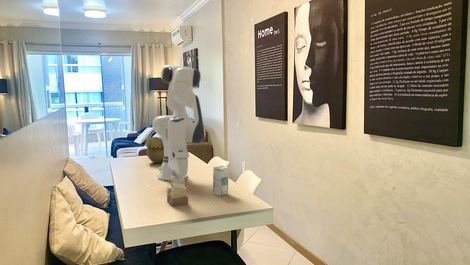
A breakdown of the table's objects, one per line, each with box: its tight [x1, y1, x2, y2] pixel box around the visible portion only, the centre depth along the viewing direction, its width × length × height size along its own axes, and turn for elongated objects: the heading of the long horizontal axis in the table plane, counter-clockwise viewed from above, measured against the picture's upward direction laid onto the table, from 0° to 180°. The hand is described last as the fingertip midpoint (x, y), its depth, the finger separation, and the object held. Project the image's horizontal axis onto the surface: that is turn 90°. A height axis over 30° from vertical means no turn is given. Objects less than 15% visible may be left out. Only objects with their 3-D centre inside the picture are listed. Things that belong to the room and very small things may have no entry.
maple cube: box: [170, 176, 186, 189], centre depth 168 cm, size 5×5×5 cm
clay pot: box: [145, 136, 164, 164], centre depth 267 cm, size 21×21×20 cm
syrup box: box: [212, 165, 229, 197], centre depth 185 cm, size 6×6×14 cm
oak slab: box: [166, 185, 188, 198], centre depth 169 cm, size 7×7×4 cm
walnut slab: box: [166, 194, 189, 208], centre depth 170 cm, size 8×8×4 cm
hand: (177, 180), depth 168 cm, fingers open, 8 cm apart
